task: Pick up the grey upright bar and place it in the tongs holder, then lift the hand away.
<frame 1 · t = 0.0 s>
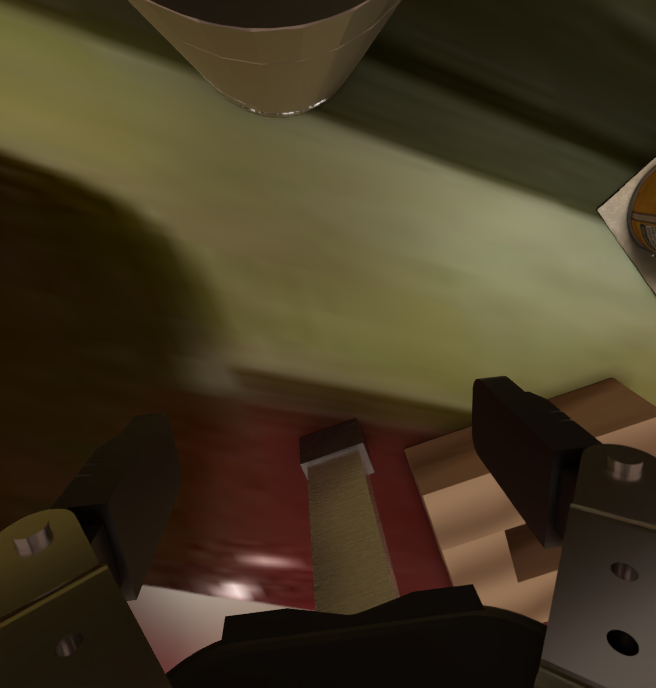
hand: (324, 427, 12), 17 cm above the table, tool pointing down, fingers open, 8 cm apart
tongs holder: (524, 493, 36), on the table
grey upright bar: (333, 442, 32), on the table
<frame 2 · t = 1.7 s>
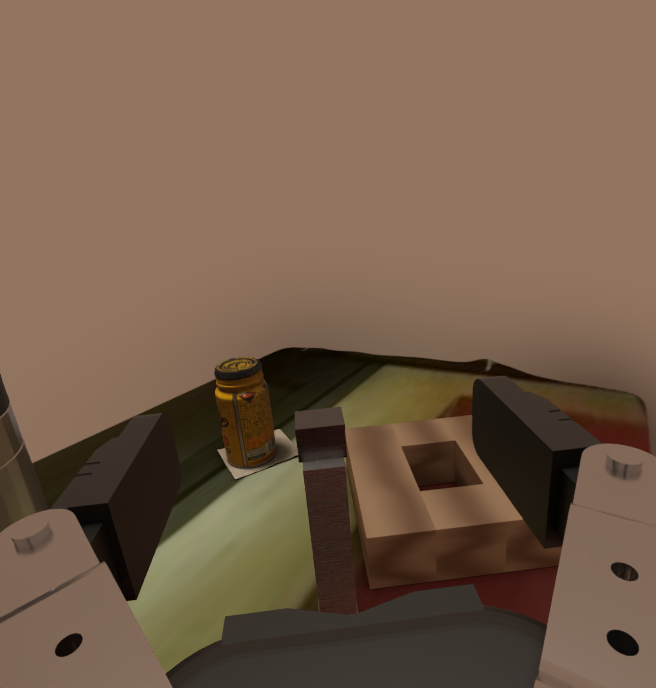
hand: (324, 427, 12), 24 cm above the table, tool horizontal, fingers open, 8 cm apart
tongs holder: (439, 508, 42), on the table
condiment: (259, 454, 54), on the table
grey upright bar: (342, 652, 30), on the table
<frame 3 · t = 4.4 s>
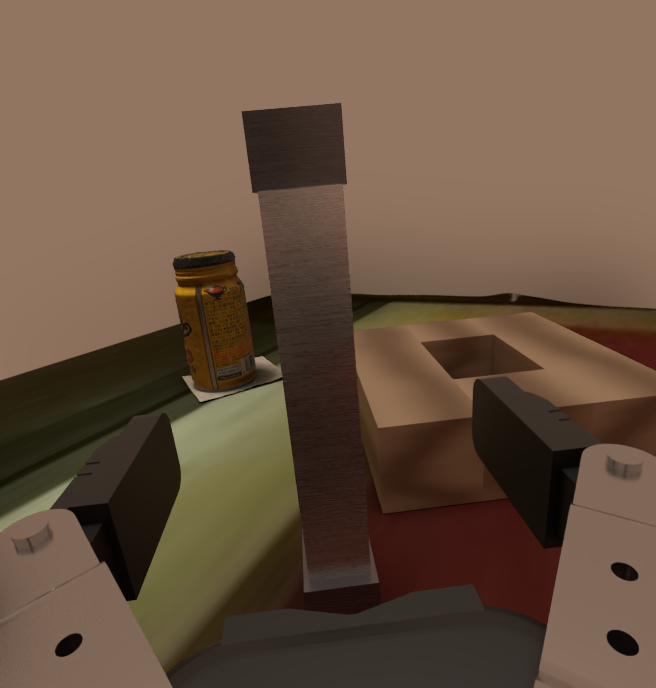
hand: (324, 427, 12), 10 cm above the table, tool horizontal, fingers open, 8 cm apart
tongs holder: (474, 421, 31), on the table
condiment: (235, 380, 42), on the table
grey upright bar: (341, 598, 18), on the table
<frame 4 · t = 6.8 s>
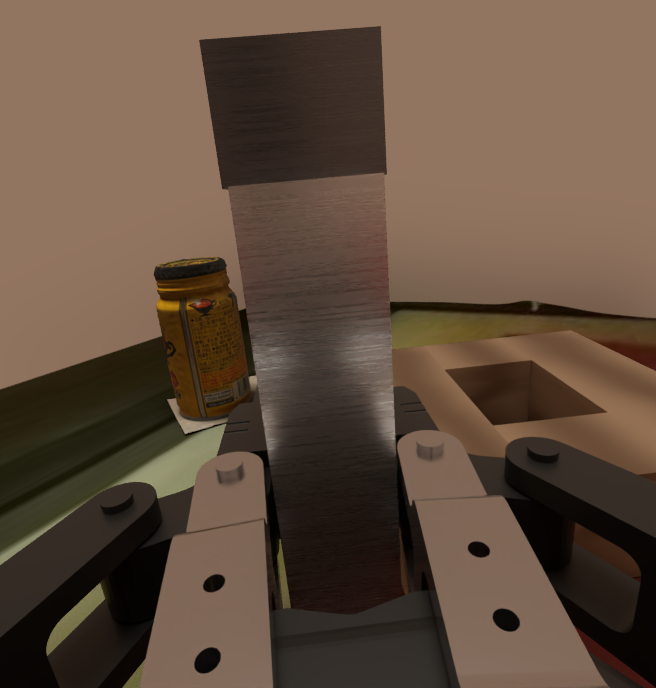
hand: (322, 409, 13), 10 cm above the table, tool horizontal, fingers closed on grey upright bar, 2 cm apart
tongs holder: (510, 467, 25), on the table
condiment: (227, 404, 37), on the table
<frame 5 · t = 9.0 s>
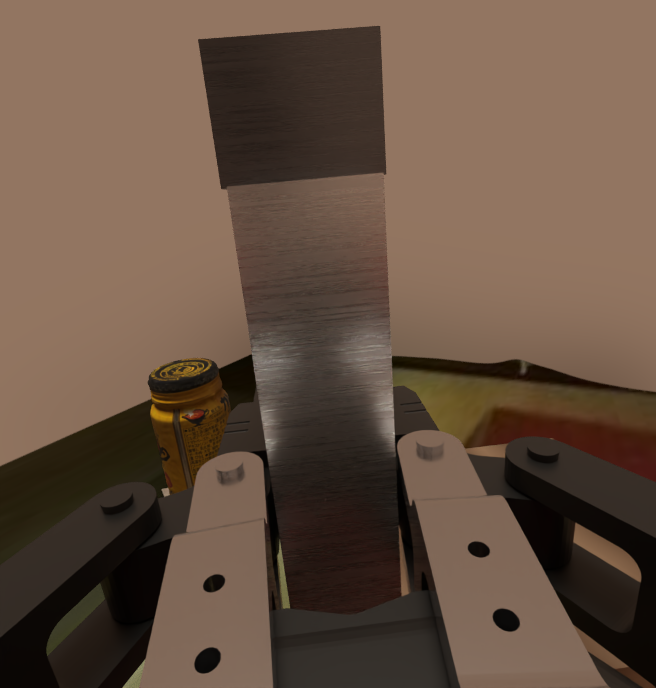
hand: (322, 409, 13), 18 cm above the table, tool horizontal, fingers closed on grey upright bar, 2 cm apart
tongs holder: (491, 595, 27), on the table
condiment: (220, 496, 38), on the table
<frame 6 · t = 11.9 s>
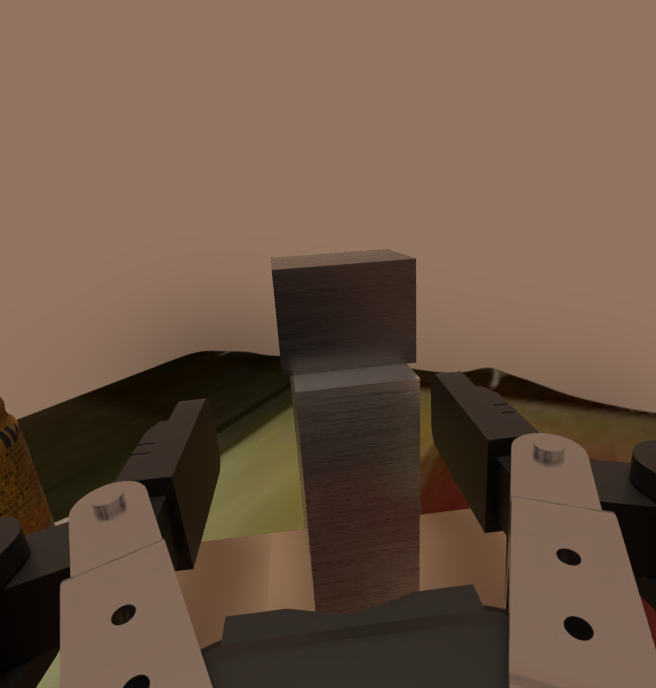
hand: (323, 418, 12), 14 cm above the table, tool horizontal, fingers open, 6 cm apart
condiment: (24, 574, 26), on the table
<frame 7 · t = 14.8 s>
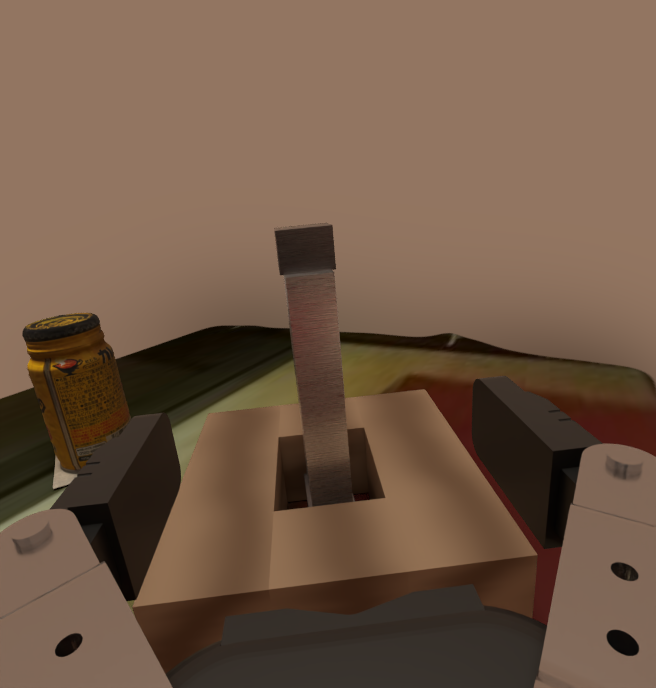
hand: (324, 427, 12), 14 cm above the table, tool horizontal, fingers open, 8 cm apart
tongs holder: (332, 534, 26), on the table
condiment: (111, 453, 38), on the table
grey upright bar: (333, 534, 27), resting in tongs holder
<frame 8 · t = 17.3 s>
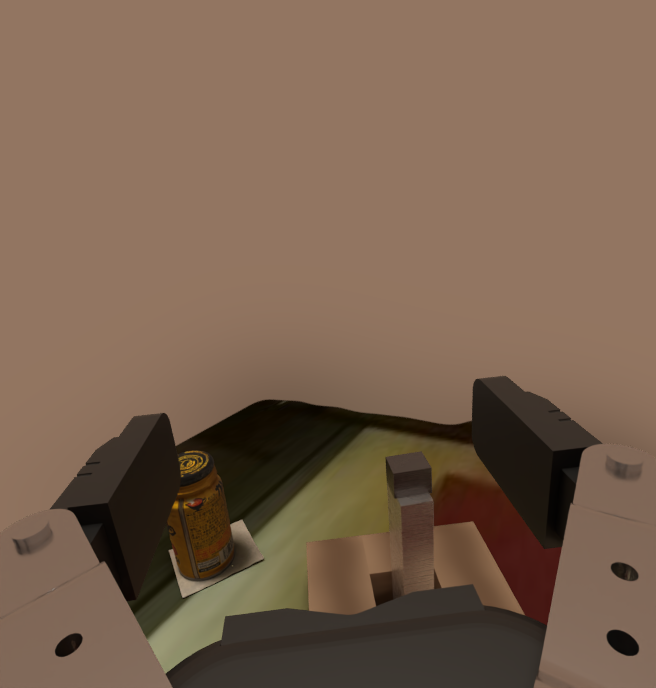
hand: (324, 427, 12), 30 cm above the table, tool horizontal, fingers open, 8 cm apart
tongs holder: (413, 652, 36), on the table
condiment: (216, 557, 48), on the table
grey upright bar: (414, 651, 36), resting in tongs holder
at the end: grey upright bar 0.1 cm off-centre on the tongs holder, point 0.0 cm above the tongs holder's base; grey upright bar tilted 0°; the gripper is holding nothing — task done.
